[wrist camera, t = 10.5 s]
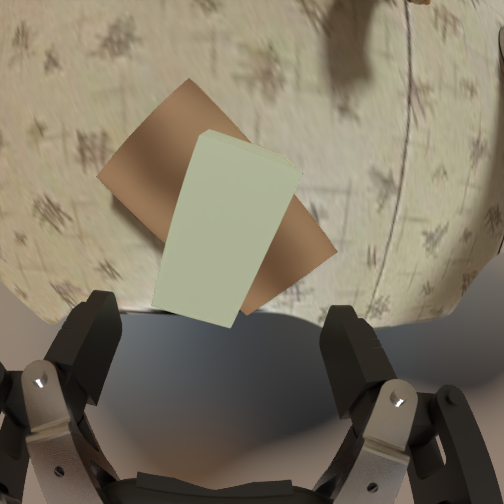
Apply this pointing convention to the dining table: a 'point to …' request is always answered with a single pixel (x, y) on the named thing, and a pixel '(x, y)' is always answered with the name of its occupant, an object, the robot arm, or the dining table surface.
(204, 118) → the walnut brick
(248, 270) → the sage brick
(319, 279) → the dining table surface
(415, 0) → the lion figurine
